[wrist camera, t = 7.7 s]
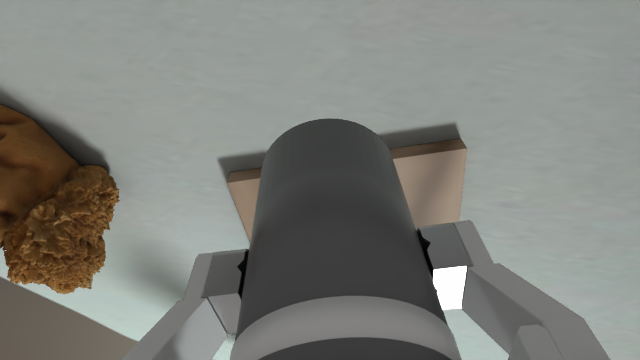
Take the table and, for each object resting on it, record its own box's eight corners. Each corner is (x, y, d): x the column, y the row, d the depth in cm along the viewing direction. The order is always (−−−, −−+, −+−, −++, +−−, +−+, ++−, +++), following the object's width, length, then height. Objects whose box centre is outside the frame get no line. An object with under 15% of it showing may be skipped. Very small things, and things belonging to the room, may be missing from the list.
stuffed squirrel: (-46, 82, 27) (-264, 202, 17) (152, 159, 32) (78, 290, 21) (-46, 178, 32) (-212, 316, 22) (125, 232, 37) (55, 366, 26)
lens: (393, 107, 12) (487, 331, 6) (396, 217, 16) (460, 441, 9) (244, 129, 13) (184, 364, 6) (276, 232, 16) (257, 460, 10)
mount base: (460, 138, 31) (483, 174, 27) (447, 283, 44) (461, 322, 40) (229, 172, 33) (219, 211, 29) (279, 303, 45) (277, 343, 41)
